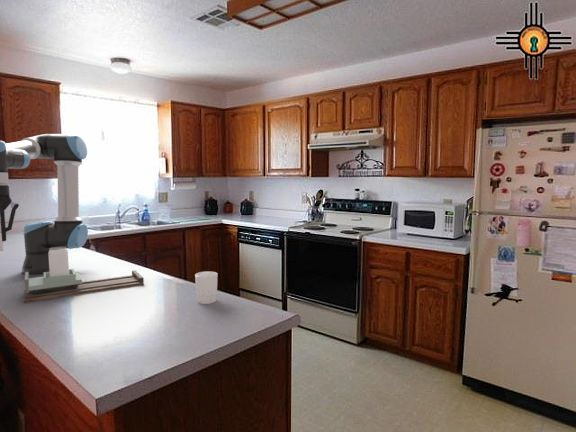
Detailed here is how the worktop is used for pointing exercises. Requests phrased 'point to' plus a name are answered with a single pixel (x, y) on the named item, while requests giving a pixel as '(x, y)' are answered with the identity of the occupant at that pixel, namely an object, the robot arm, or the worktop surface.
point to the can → (58, 261)
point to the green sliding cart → (51, 281)
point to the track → (86, 287)
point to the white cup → (206, 287)
